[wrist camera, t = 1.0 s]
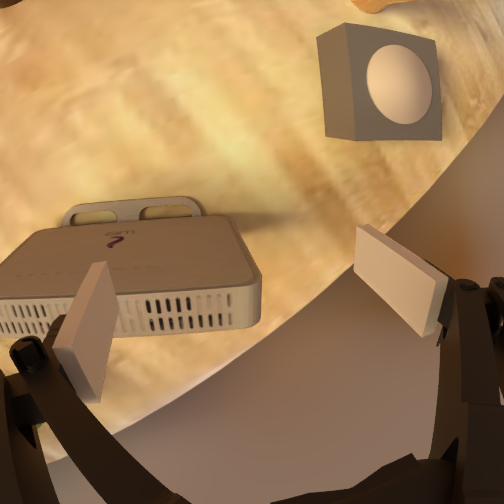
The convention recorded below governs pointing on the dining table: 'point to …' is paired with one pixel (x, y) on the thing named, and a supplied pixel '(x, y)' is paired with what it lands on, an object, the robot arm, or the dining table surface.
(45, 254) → the network device
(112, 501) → the robot arm
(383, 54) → the plate
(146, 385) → the dining table surface
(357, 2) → the beer glass
